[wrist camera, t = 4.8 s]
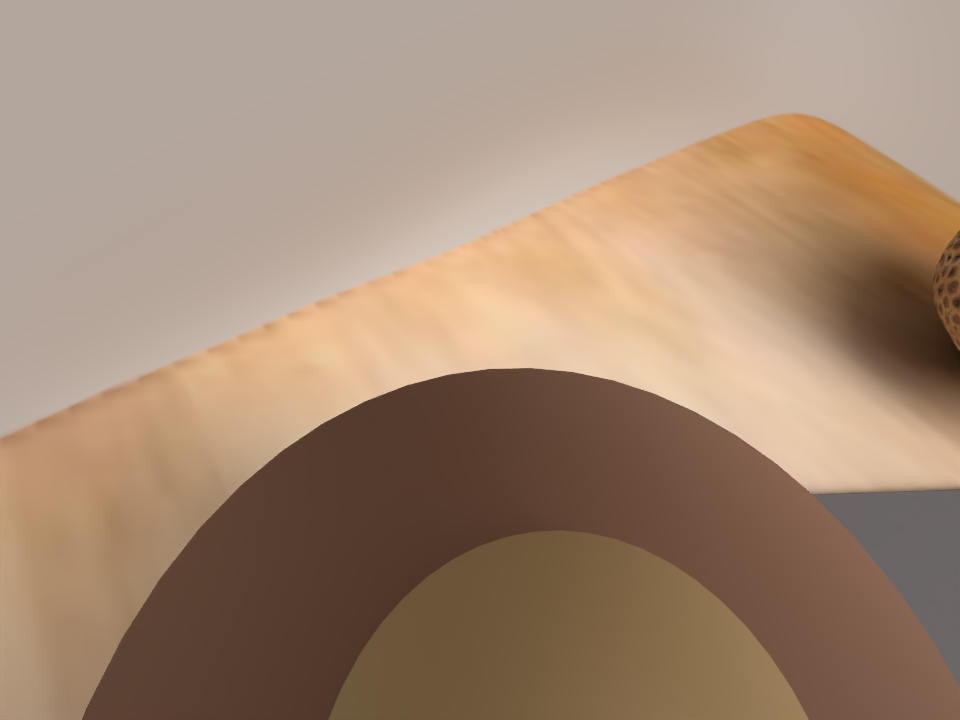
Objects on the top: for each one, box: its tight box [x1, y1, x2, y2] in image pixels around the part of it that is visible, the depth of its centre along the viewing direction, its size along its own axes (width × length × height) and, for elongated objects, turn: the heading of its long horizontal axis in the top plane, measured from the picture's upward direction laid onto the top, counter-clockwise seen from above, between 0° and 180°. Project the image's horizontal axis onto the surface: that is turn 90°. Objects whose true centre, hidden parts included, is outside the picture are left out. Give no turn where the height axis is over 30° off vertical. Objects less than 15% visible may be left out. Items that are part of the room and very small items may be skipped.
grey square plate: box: [813, 490, 960, 687], centre depth 14 cm, size 9×9×1 cm
